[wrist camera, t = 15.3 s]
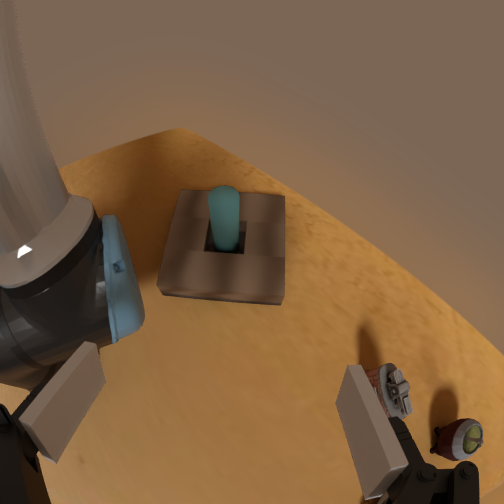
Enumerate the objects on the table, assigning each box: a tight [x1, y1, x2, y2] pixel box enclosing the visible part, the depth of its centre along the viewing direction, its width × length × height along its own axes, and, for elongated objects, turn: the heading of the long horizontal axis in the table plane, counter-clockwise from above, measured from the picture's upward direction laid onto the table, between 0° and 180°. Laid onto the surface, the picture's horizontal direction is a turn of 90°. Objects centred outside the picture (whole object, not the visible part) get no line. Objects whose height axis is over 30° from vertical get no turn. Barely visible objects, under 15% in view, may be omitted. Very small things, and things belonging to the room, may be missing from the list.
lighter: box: [364, 363, 413, 420], centre depth 31 cm, size 8×3×10 cm, turn 14°
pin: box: [208, 186, 239, 254], centre depth 41 cm, size 4×4×12 cm
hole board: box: [156, 189, 285, 305], centre depth 45 cm, size 18×18×4 cm
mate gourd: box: [430, 418, 483, 461], centre depth 24 cm, size 8×8×15 cm
